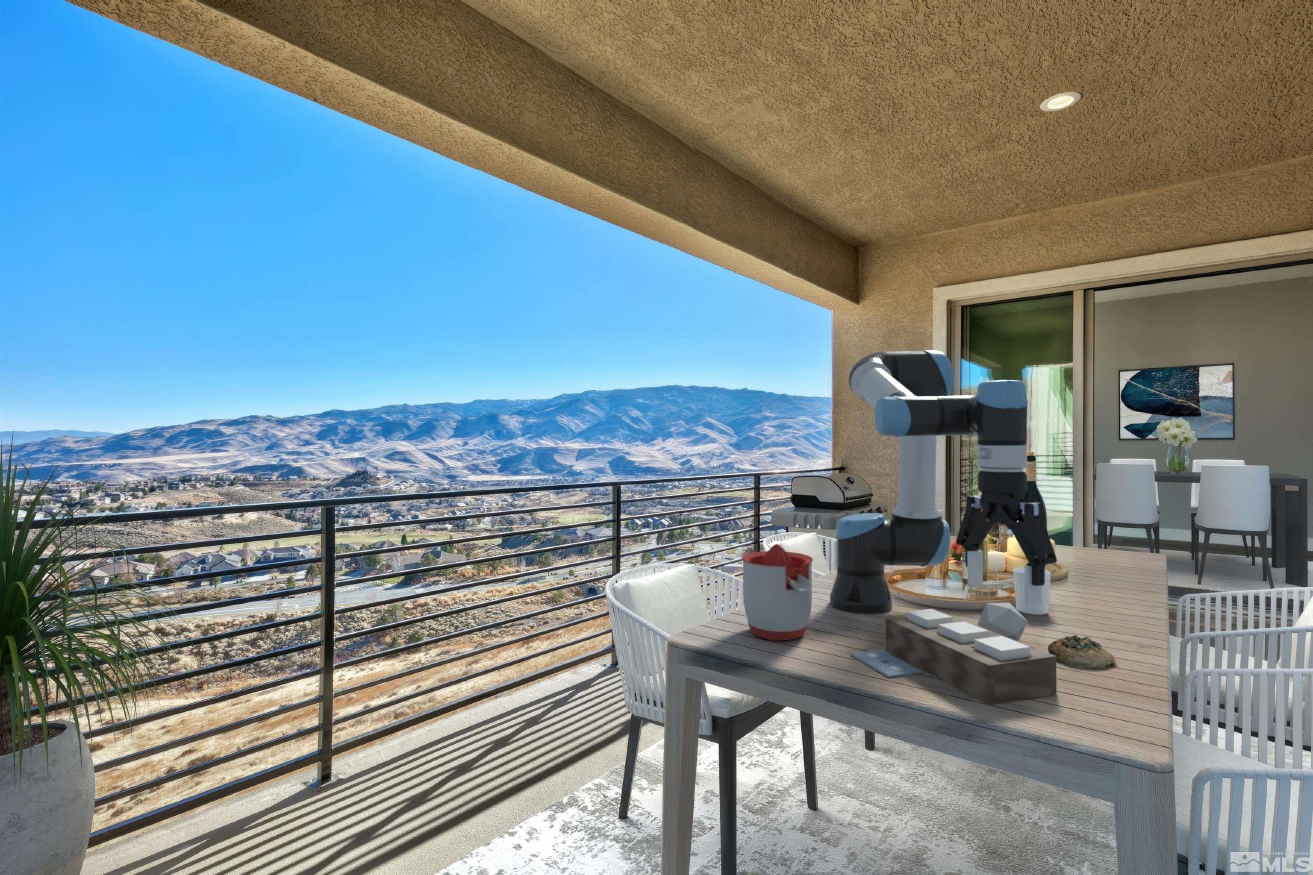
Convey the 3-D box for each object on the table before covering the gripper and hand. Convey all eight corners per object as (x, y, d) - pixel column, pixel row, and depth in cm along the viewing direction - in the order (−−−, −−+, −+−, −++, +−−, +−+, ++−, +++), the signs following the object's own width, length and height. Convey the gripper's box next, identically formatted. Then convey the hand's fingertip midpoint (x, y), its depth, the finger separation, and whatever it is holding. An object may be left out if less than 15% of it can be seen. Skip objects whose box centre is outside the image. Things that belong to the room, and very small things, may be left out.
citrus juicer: (774, 652, 128) (773, 554, 128) (729, 628, 144) (728, 541, 143) (834, 640, 135) (833, 547, 134) (784, 619, 150) (783, 535, 150)
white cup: (1058, 615, 151) (1057, 574, 151) (1025, 615, 151) (1024, 574, 151) (1038, 606, 159) (1038, 567, 158) (1007, 606, 159) (1006, 567, 158)
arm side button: (907, 625, 128) (907, 611, 128) (931, 623, 130) (931, 608, 130) (927, 635, 122) (927, 619, 122) (952, 632, 124) (952, 616, 124)
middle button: (938, 639, 120) (938, 624, 119) (964, 636, 121) (964, 621, 121) (961, 650, 114) (961, 634, 114) (988, 646, 115) (988, 630, 115)
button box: (885, 649, 129) (885, 618, 128) (942, 642, 132) (942, 612, 132) (989, 704, 103) (989, 665, 103) (1056, 694, 106) (1056, 656, 106)
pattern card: (850, 655, 126) (850, 652, 126) (881, 651, 128) (881, 649, 128) (888, 677, 114) (888, 675, 114) (921, 673, 116) (921, 670, 116)
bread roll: (1051, 644, 131) (1054, 621, 130) (1116, 664, 124) (1120, 640, 123) (1042, 662, 122) (1045, 638, 122) (1111, 684, 115) (1116, 658, 115)
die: (1024, 653, 128) (1040, 611, 130) (984, 631, 129) (1000, 590, 132) (1003, 654, 135) (1018, 614, 138) (965, 633, 137) (981, 594, 140)
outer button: (974, 656, 111) (974, 639, 111) (1001, 652, 113) (1001, 635, 112) (1001, 668, 105) (1001, 650, 105) (1030, 664, 107) (1030, 646, 107)
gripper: (934, 466, 119) (935, 580, 119) (1045, 474, 96) (1046, 616, 96) (967, 465, 121) (967, 577, 121) (1083, 473, 98) (1083, 611, 98)
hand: (1002, 595), depth 109 cm, fingers open, 12 cm apart
